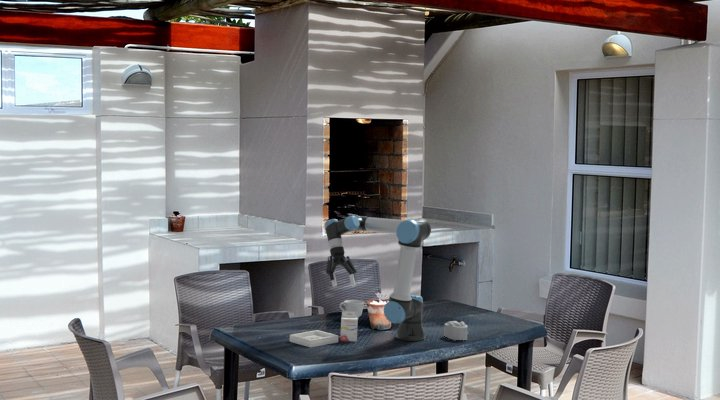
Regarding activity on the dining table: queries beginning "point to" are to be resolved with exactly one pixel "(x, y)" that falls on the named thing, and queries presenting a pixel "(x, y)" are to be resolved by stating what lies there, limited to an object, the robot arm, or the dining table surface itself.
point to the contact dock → (313, 338)
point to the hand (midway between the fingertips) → (344, 286)
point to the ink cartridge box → (349, 326)
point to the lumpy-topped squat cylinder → (455, 330)
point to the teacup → (353, 306)
